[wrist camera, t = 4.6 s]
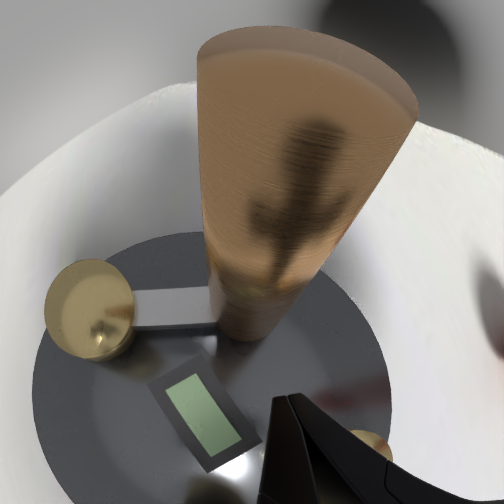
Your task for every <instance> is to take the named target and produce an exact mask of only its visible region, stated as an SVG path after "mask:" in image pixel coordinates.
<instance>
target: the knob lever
mask: <svg viewBox="0 0 504 504" xmlns="http://www.w3.org/2000/svg"><path fill="white" fill-rule="evenodd" d="M197 109H198V140H199V163H200V182H201V199H202V214H203V228H204V241H205V253H206V265H207V276H208V286H205V287H190V288H174V289H156V290H137V291H134V290H133V289H132V287H131V286H130V285H129V283H128V282H127V280H126V279H125V278H124V276H123V275H122V274H121V273H120V271H119V270H118V269H117V268H115V267H114V266H113V265H111V264H110V263H107V262H105V261H102V260H97V259H85V260H81V261H78V262H75V263H73V264H71V265H69V266H68V267H66V268H65V269H64V270H63V271H61V272H60V273H59V274H58V276H57V277H56V278H55V279H54V281H53V282H52V284H51V286H50V288H49V290H48V293H47V296H46V300H45V307H44V315H45V322H46V326H47V329H48V332H49V334H50V336H51V338H52V339H53V341H54V342H55V343H56V344H57V345H58V346H59V347H60V348H61V349H62V350H64V351H65V352H67V353H69V354H71V355H74V356H77V357H80V358H83V359H86V360H89V361H94V362H104V361H109V360H111V359H114V358H116V357H118V356H120V355H121V354H122V353H124V352H125V351H126V350H127V349H128V348H129V347H130V345H131V344H132V343H133V341H134V339H135V337H136V335H137V333H138V331H147V330H172V329H190V328H206V327H218V328H219V329H220V330H221V331H222V332H223V333H224V334H225V335H227V336H228V337H230V338H232V339H235V340H238V341H245V342H247V341H256V340H259V339H261V338H263V337H265V336H267V335H268V334H269V333H271V332H272V331H273V329H274V328H275V327H276V326H277V325H278V323H279V322H280V321H281V319H282V318H283V317H284V316H285V314H286V313H287V312H288V310H289V309H290V308H291V307H292V305H293V304H294V303H295V301H296V300H297V299H298V297H299V296H300V295H301V293H302V292H303V291H304V289H305V288H306V287H307V285H308V284H309V283H310V281H311V280H312V279H313V277H314V276H315V275H316V273H317V272H318V270H319V269H320V268H321V266H322V265H323V264H324V262H325V261H326V259H327V258H328V257H329V255H330V254H331V252H332V251H333V250H334V248H335V247H336V245H337V244H338V243H339V241H340V240H341V238H342V237H343V235H344V234H345V232H346V231H347V230H348V228H349V227H350V225H351V224H352V222H353V221H354V219H355V218H356V216H357V215H358V213H359V212H360V210H361V209H362V207H363V206H364V204H365V203H366V201H367V200H368V198H369V197H370V195H371V194H372V192H373V191H374V189H375V188H376V186H377V185H378V183H379V181H380V180H381V178H382V177H383V175H384V174H385V172H386V170H387V169H388V167H389V166H390V164H391V162H392V161H393V159H394V158H395V156H396V154H397V153H398V151H399V149H400V148H401V146H402V144H403V143H404V141H405V139H406V138H407V136H408V134H409V133H410V131H411V129H412V128H413V126H414V124H415V122H416V121H417V118H418V115H419V106H418V101H417V99H416V97H415V95H414V93H413V91H412V90H411V88H410V87H409V86H408V84H407V83H406V82H405V81H404V80H403V79H402V78H401V77H400V76H399V74H397V73H396V72H395V71H394V70H393V69H392V68H390V67H389V66H388V65H387V64H385V63H384V62H382V61H381V60H380V59H378V58H376V57H375V56H373V55H372V54H370V53H368V52H366V51H365V50H363V49H361V48H359V47H357V46H355V45H352V44H350V43H348V42H345V41H343V40H340V39H338V38H335V37H332V36H329V35H325V34H322V33H318V32H314V31H310V30H305V29H299V28H292V27H282V26H253V27H244V28H239V29H234V30H230V31H227V32H224V33H221V34H219V35H217V36H215V37H213V38H211V39H210V40H208V41H207V42H205V44H204V45H203V46H202V47H201V48H200V50H199V51H198V55H197Z"/></svg>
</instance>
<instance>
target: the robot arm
mask: <svg viewBox="0 0 504 504" xmlns="http://www.w3.org/2000/svg"><path fill="white" fill-rule="evenodd" d="M256 504H504V500H493V501H473V500H468V499H464V498H461V497H458V496H456V495H453V494H451V493H449V492H446V491H444V490H442V489H440V488H437V487H435V486H433V485H431V484H429V483H427V482H425V481H423V480H421V479H419V478H417V477H415V476H413V475H412V474H410V473H408V472H407V471H405V470H404V469H402V468H400V467H399V466H397V465H396V464H395V463H393V462H392V461H390V460H387V458H386V457H384V456H383V455H382V454H380V453H379V452H377V451H376V450H375V449H373V448H372V447H370V446H369V445H368V444H366V443H365V442H364V441H362V440H361V439H360V438H358V437H357V436H356V435H354V434H353V433H352V432H350V431H349V430H348V429H346V428H345V427H344V426H343V425H341V424H340V423H339V422H337V421H336V420H335V419H334V418H332V417H331V416H330V415H329V414H327V413H326V412H325V411H324V410H322V409H321V408H320V407H319V406H317V405H316V404H315V403H314V402H312V401H311V400H310V399H309V398H308V397H306V396H305V395H304V394H303V393H294V394H289V395H288V396H286V395H282V396H276V397H273V398H272V404H271V412H270V419H269V426H268V433H267V440H266V447H265V454H264V460H263V467H262V473H261V479H260V486H259V492H258V497H257V502H256Z"/></svg>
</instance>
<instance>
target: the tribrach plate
mask: <svg viewBox="0 0 504 504" xmlns="http://www.w3.org/2000/svg"><path fill="white" fill-rule="evenodd" d="M105 262H107V263H110V264H111V265H113V266H114V267H115V268H117V269H118V270H119V271H120V273H121V274H122V275H123V276H124V278H125V279H126V280H127V282H128V283H129V285H130V286H131V287H132V289H133V290H134V291H137V290H156V289H174V288H190V287H205V286H208V276H207V265H206V253H205V241H204V232H192V233H179V234H173V235H168V236H163V237H158V238H155V239H152V240H148V241H145V242H142V243H139V244H136V245H134V246H132V247H130V248H128V249H125V250H123V251H121V252H119V253H117V254H115V255H114V256H112V257H110V258H109V259H107V260H106V261H105ZM294 393H303V394H304V395H305V396H306V397H308V398H309V399H310V400H311V401H312V402H314V403H315V404H316V405H317V406H319V407H320V408H321V409H322V410H324V411H325V412H326V413H327V414H329V415H330V416H331V417H332V418H334V419H335V420H336V421H337V422H339V423H340V424H341V425H343V426H344V427H345V428H346V429H348V430H349V431H350V432H352V433H353V434H354V435H356V436H357V437H358V438H360V439H361V440H362V441H364V442H365V443H366V444H368V445H369V446H370V447H372V448H373V449H375V450H376V451H377V452H379V453H380V454H382V455H383V456H384V457H386V458H387V460H390V461H392V462H393V457H392V452H391V449H390V447H389V445H388V444H387V442H388V438H389V433H390V425H391V414H392V402H391V387H390V381H389V376H388V371H387V366H386V363H385V360H384V357H383V354H382V351H381V348H380V345H379V343H378V341H377V339H376V337H375V335H374V333H373V331H372V329H371V327H370V325H369V323H368V322H367V320H366V319H365V317H364V316H363V314H362V313H361V311H360V310H359V308H358V307H357V306H356V304H355V303H354V302H353V301H352V300H351V299H350V297H349V296H348V295H347V294H346V293H345V292H344V290H343V289H341V288H340V287H339V286H338V285H337V284H336V283H335V282H334V281H333V280H332V279H331V278H329V277H328V276H327V275H326V274H325V273H323V272H322V271H320V270H318V272H317V273H316V275H315V276H314V277H313V279H312V280H311V281H310V283H309V284H308V285H307V287H306V288H305V289H304V291H303V292H302V293H301V295H300V296H299V297H298V299H297V300H296V301H295V303H294V304H293V305H292V307H291V308H290V309H289V310H288V312H287V313H286V314H285V316H284V317H283V318H282V319H281V321H280V322H279V323H278V325H277V326H276V327H275V328H274V329H273V331H272V332H271V333H269V334H268V335H267V336H265V337H263V338H261V339H259V340H256V341H247V342H245V341H238V340H235V339H232V338H230V337H228V336H227V335H225V334H224V333H223V332H222V331H221V330H220V329H219V328H218V327H206V328H190V329H172V330H147V331H138V333H137V335H136V337H135V339H134V341H133V343H132V344H131V345H130V347H129V348H128V349H127V350H126V351H125V352H124V353H122V354H121V355H120V356H118V357H116V358H114V359H111V360H109V361H104V362H94V361H89V360H86V359H83V358H80V357H77V356H74V355H71V354H69V353H67V352H65V351H64V350H62V349H61V348H60V347H59V346H58V345H57V344H56V343H55V342H54V341H53V339H52V338H51V336H50V334H49V332H48V329H47V328H46V330H45V332H44V335H43V337H42V340H41V343H40V346H39V349H38V352H37V357H36V361H35V367H34V372H33V384H32V403H33V414H34V421H35V425H36V430H37V434H38V438H39V442H40V444H41V447H42V450H43V453H44V455H45V458H46V460H47V462H48V464H49V466H50V468H51V470H52V472H53V474H54V476H55V477H56V479H57V481H58V482H59V484H60V485H61V487H62V488H63V490H64V491H65V492H66V494H67V495H68V496H69V498H70V499H71V500H72V502H73V503H74V504H256V502H257V497H258V492H259V486H260V479H261V473H262V467H263V460H264V454H265V447H266V440H267V433H268V426H269V419H270V412H271V404H272V398H273V397H276V396H282V395H286V396H288V395H289V394H294Z"/></svg>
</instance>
